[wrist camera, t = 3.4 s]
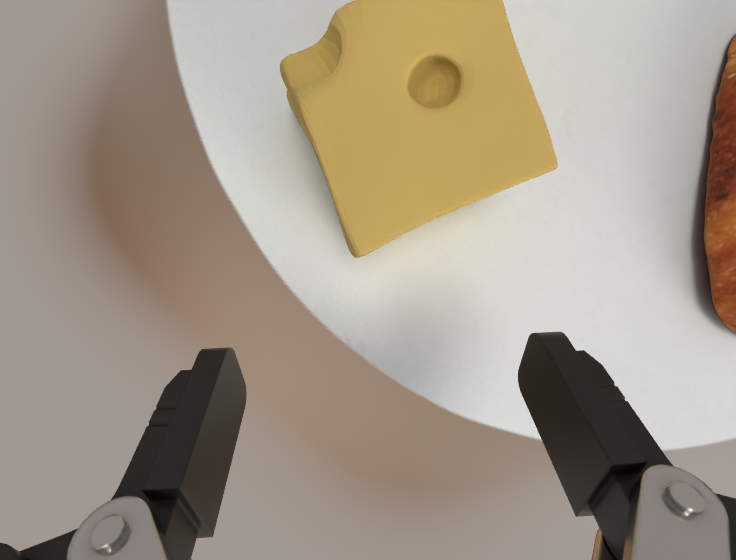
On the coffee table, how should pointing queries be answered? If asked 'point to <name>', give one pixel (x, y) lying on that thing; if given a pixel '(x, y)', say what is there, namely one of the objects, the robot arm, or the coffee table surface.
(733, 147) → the slice of bread
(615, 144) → the coffee table surface
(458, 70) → the cheese
